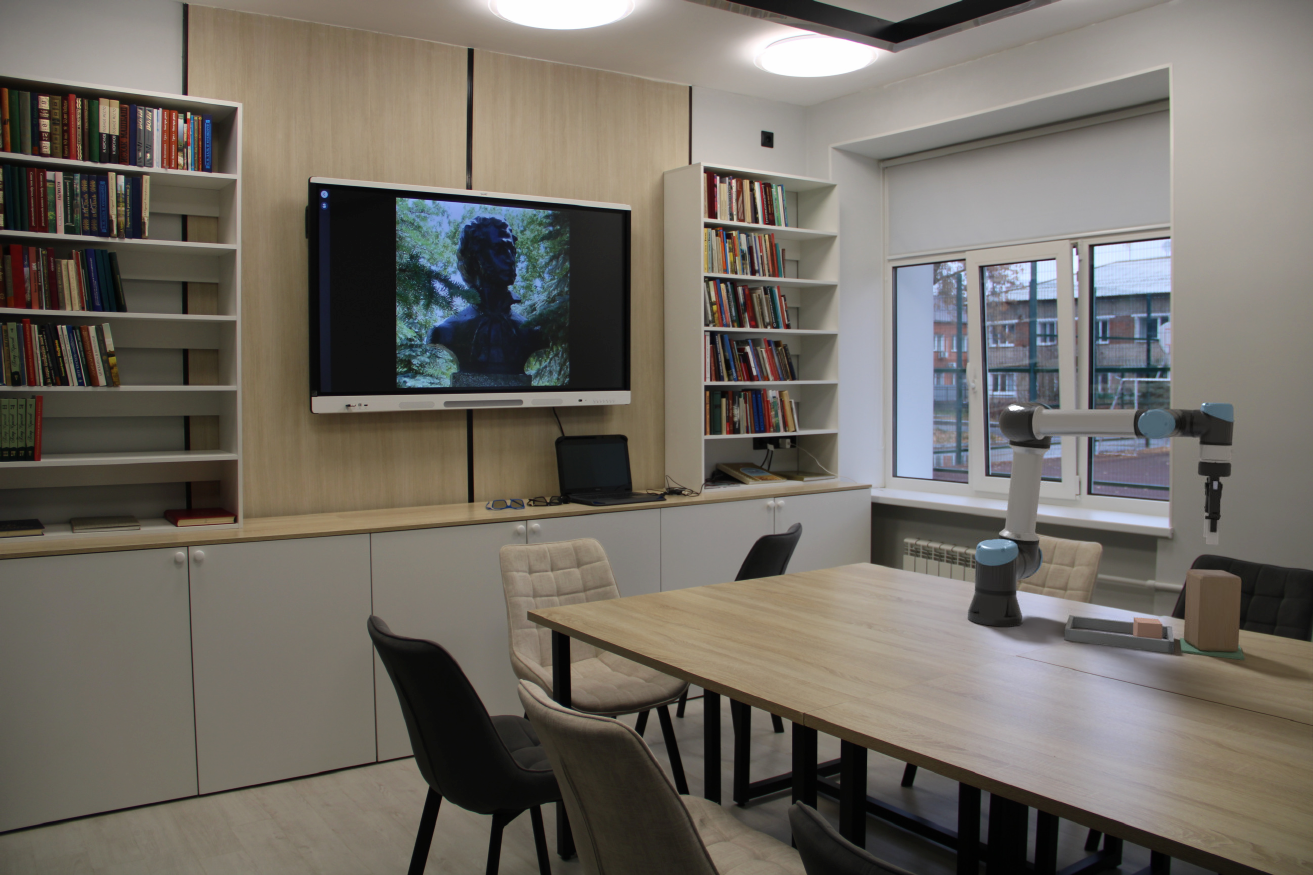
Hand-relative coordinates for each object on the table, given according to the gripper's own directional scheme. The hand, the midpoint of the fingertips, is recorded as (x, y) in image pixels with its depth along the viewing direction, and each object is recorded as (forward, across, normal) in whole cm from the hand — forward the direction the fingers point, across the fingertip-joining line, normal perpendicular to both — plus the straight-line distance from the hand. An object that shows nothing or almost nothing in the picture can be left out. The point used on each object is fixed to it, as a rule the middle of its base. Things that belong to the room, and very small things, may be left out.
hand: (1210, 541), depth 248 cm
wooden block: (+28, -1, -1) cm, 28 cm away
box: (+29, -1, +14) cm, 32 cm away
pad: (+29, -1, -1) cm, 29 cm away
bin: (+29, -1, +21) cm, 36 cm away
